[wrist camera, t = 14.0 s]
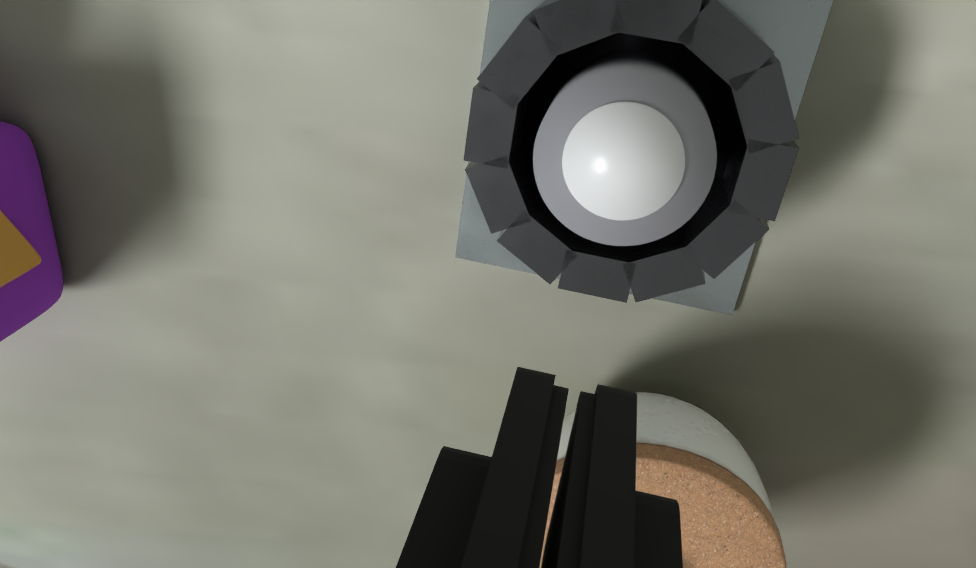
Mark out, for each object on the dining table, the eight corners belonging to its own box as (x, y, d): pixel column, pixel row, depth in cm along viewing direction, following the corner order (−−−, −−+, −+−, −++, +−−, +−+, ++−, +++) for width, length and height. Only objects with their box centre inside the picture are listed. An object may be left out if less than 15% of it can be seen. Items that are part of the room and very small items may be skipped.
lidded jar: (542, 333, 35) (509, 462, 27) (786, 372, 34) (831, 521, 26) (518, 514, 40) (484, 672, 32) (732, 555, 39) (755, 732, 30)
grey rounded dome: (561, 37, 29) (548, 55, 25) (727, 65, 28) (739, 88, 24) (535, 192, 31) (519, 229, 27) (686, 221, 31) (691, 262, 27)
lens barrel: (504, -97, 28) (481, -98, 24) (844, -42, 27) (877, -35, 23) (456, 254, 34) (432, 297, 31) (731, 311, 33) (742, 363, 29)
